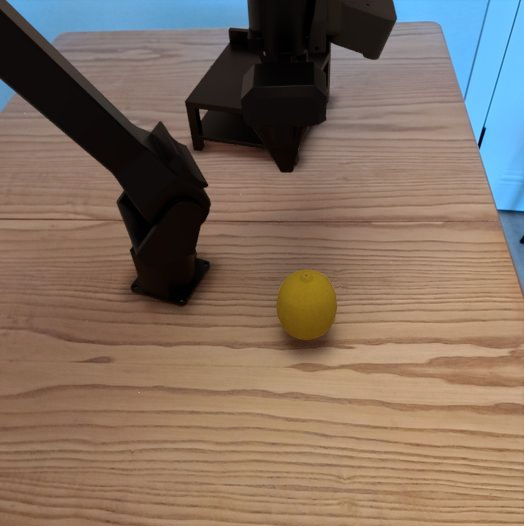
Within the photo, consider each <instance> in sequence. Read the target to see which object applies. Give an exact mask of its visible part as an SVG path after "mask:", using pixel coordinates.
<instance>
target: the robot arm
mask: <svg viewBox="0 0 524 526" xmlns="http://www.w3.org/2000/svg"><path fill="white" fill-rule="evenodd" d="M246 3H247V17H248V18H247V21H248V28H247V29H248V38H247V41H248V52H258V55H259V58H260V60H261V64H254V65H253V66H252V67H251V68H250V70H249V71H248V72H247V73H246V74H245V75H244V76H243V85H242V94H241V107H242V118H243V123H244V124H246V125H247V126H249V127H252V128H253V129H254V131H255V132H256V133H257V135H258V136H259V138H260V139H261V141H262V142H263V144H264V146H265V147H266V149H267V150H266V151H267V153H268V154H269V156H270V157H271V158H272V161H273V162H274V164H275V165H276V167H277V168H278V170H279V172H280V173H282V174H289V173H293V172H294V169H295V167H296V166H295V162H296V158H297V154H298V150H299V151H300V147H301V145H300V143H301V139H302V135H303V132H304V130H305V128H307V127H308V126H310V127H314V126H320V125H321V124H323V123H325V122H326V121H327V107H328V105H327V104H328V103H327V90H326V73H325V72H324V71H323V70H322V69H321V68H320V67H319V66H318V65H316V64H315V63H314V62H307V53H308V52H311V53H314V52H326V39H327V40H328V41H329V42H331V45H332V44H333V45H335V46H337V47H341V48H344V49H346V50H350V51H353V52H356V53H359V54H361V55H362V56H363V58H365V59H368V60H370V61H371V60H372V61H376V60H379V59H380V58H381V55H382V52H383V51H384V48H385V46H386V44H387V42H388V40H389V38H390V36H391V33H392V32H393V30H394V27H395V25H396V22H397V20H398V16H397V11H396V6H395V3H394V0H246ZM0 80H1V82H3V83H4V84H5V85H6V86H8V87H9V88H10V89H11V90H12V91H13V92H15V93H16V94H17V95H18V96H20V98H21V99H23V100H25V101H26V102H27V103H28V104H29V105H30V106H31V107H32V108H34V109H35V110H36V111H37V112H39V114H41V115H42V116H43V117H44V118H45V119H46V120H48V121H49V122H50V123H51V124H53V126H55V127H56V128H57V129H58V130H59V131H61V132H62V133H63V134H65V136H67V137H68V138H69V139H71V141H73V143H75V144H77V145H78V146H79V147H80V148H81V149H82V150H83V151H85V152H86V153H87V154H88V155H89V156H91V157H92V158H93V159H94V160H95V161H97V162H98V163H99V164H100V165H101V166H102V167H104V168H105V169H106V170H107V171H108V172H110V173H111V175H112V176H113V177H114V178H115V179H116V181H117V182H118V184H119V186H120V187H121V188H122V192H121V193H120V194H119V197H118V198H117V200H115V201H116V202H115V203H116V206H117V209H118V211H119V214H120V216H121V219H122V222H123V224H124V227H125V230H126V232H127V234H128V237H129V239H130V243H131V247H130V249H129V253H130V256H131V259H132V262H133V266H134V268H135V271H136V275H137V277H136V278H135V279H134V281H133V282H132V283H131V284H130V286H129V287H130V291H131V292H132V293H134V294H138V295H141V296H144V297H148V298H151V299H154V300H158V301H160V302H163V303H164V302H165V303H168V304H171V305H175V306H178V307H184V306H186V305H187V304H188V302H189V300H190V299H191V297H192V296H193V295H194V293H195V291H196V290H197V289H198V287H199V285H200V284H201V282H202V281H203V279H204V278H205V276H206V275H207V273H208V271H209V270H210V268H211V262H210V261H209V260H207V259H203V258H199V257H197V256H198V252H197V244H198V240H199V236H200V232H201V228H202V225H203V224H204V223H205V222H206V221H207V218H208V216H209V214H210V211H211V207H212V202H211V198H210V197H209V195H208V192H207V191H206V189H207V188H209V183H208V182H207V179H206V178H205V176H204V174H203V173H202V171H201V169H200V167H199V166H198V164H197V162H196V160H195V158H194V156H193V155H192V153H191V151H190V150H189V148H188V146H187V145H186V144H184V143H181V142H179V141H178V140H176V139H175V138H174V137H173V136H172V134H171V133H170V132H169V130H168V128H167V127H166V126H165V124H164V123H163V121H162V120H160V121H158V122H157V124H156V125H155V126H154V127H153V129H152V130H151V131H149V130H146V129H144V128H143V127H142V128H141V127H139V126H137V125H135V124H134V123H133V122H132V121H130V120H129V119H128V118H127V117H126V115H125V114H123V113H122V112H121V110H120V109H118V108H117V107H116V105H114V104H113V103H112V102H111V101H110V100H109V99H108V98H107V97H106V96H105V95H104V94H103V93H102V92H100V90H99V89H98V88H97V87H96V86H95V85H94V84H93V83H91V81H90V80H88V79H87V77H85V75H83V73H81V72H80V70H78V69H77V68H76V67H75V66H74V65H73V64H72V63H71V62H70V61H69V60H68V59H67V58H66V57H65V56H64V55H63V54H62V53H61V52H60V51H59V50H58V49H57V48H55V46H54V45H52V43H51V42H49V40H48V39H47V38H46V37H44V36H43V34H42V33H40V31H38V30H37V28H35V27H34V26H33V24H31V23H30V22H29V21H28V20H27V19H26V18H25V17H24V16H23V15H22V14H21V13H20V12H19V11H18V10H17V9H16V8H15V7H14V6H13V5H12V4H11V3H10V2H9V1H8V0H0ZM301 144H302V143H301ZM299 146H300V147H299Z"/></svg>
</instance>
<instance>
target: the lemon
mask: <svg viewBox="0 0 524 526" xmlns="http://www.w3.org/2000/svg"><path fill="white" fill-rule="evenodd" d="M275 310H276V315H277V319H278V322H279V323H280V325H281V327H282V329H283V330H284V331H285V332H286V333H287V334H288V335H289V336H291V337H293V338H295V339H298V340H302V341H309V340H311V341H312V340H315V339H318V338H320V337H323V335H325V334H326V333H328V331H329V330H330V329H331V328H332V326H333V324H334V322H335V320H336V316H337V311H338V299H337V294H336V290H335V288H334V286H333V283H332V282H331V280H330V279H329V278H328V277H327V276H326V275H325V274H324V273H321V272H320V271H318V270H314V269H307V268H306V269H299V270H297V271H294V272H292V273H291V274H289V275H287V277H286V278H285V279H284V280H283V281H282V283H281V285H280V287H279V289H278V291H277V296H276V302H275Z"/></svg>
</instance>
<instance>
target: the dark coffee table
mask: <svg viewBox="0 0 524 526" xmlns="http://www.w3.org/2000/svg"><path fill="white" fill-rule="evenodd" d="M248 29H249V28H240V27H229V28H228V29H227V31H228V38H229V40H228V41H229V42H228V43H227V45H226V46H225V48H224V49H223V50H222V51H221V53H220V54H219V55H218V57H217V58H216V60H215V61H214V62H213V63H212V64H211V66H210V67H209V68H208V70H207V72H205V74H204V75H203V76H202V78H201V79H200V80H199V82H198V83H197V85H195V87H194V88H193V90H192V91H191V92H190V94H189V95H188V96H187V98H186V99H185V100H184V103H185V104H184V105H185V110H186V116H187V120H188V121H187V122H188V127H189V131H190V138H191V142H192V149H193V151H196V152H203V150H204V149H205V147H206V143H205V141H206V142H211V143H218V144H225V145H232V146H238V147H245V148H251V149H253V148H254V149H257V150H258V149H259V150H265V151H268V150H267V149H266V147H265V146H264V144H263V142H262V141H261V139H260V138H259V136H258V135H257V133H256V132H255V131H254V129H253V128H252V127H249V126H247V125H246V124H244V123H243V118H242V107H241V94H242V85H243V76H244V75H245V74H246V73H247V72H248V71H249V70H250V68H251V67H252V66H253V65H254V64H261V60H260V58H259V55H258V52H248V41H247V38H248ZM331 59H332V43H331V42H329V41H328V40H327V39H326V52H314V53H311V52H308V53H307V62H314V63H315V64H316V65H318V66H319V67H320V68H321V69H322V70H323V71H324V72H325V73H326V90H327V104H328V103H329V101H330V97H331V95H330V94H331V93H330V92H331V91H330V90H331V63H332V60H331ZM200 110H203V111H206V112H205V114H204V115H203V116H202V118H201V111H200ZM310 128H311V126H308V127H307V128H305V130H304V132H303V135H302V139H301V143H300V146H299V148H300V147H301V145H302V143H303V141H304V139H305V137H306V135H307V133H308V131H309V129H310ZM299 152H300V149H299V150H298V154H297V158H296V162H295V166H294V167H296V166H297V165H298V163H299V161H300V154H299Z"/></svg>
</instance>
